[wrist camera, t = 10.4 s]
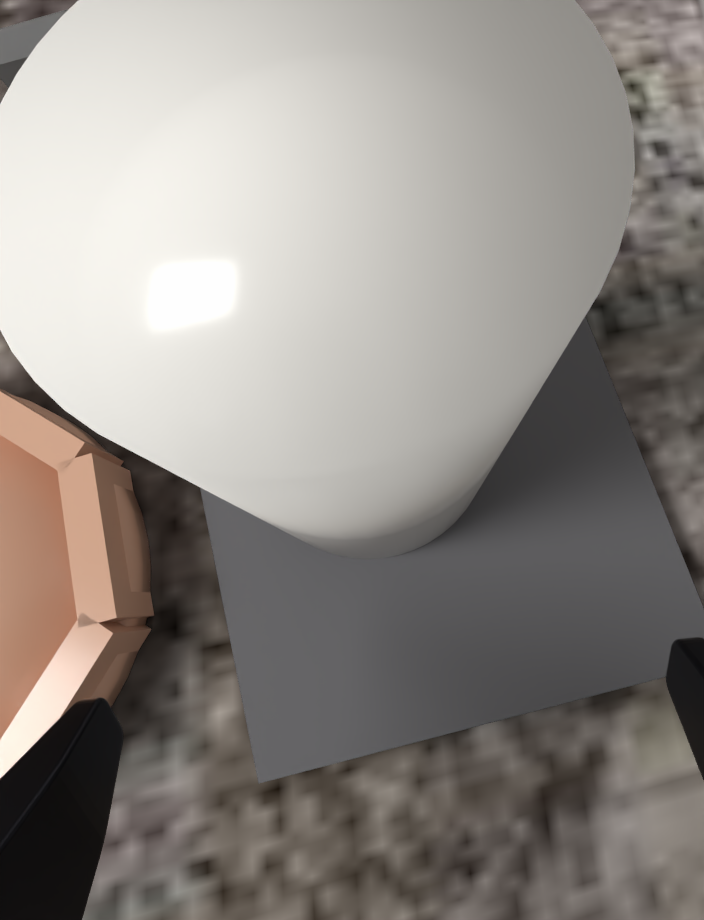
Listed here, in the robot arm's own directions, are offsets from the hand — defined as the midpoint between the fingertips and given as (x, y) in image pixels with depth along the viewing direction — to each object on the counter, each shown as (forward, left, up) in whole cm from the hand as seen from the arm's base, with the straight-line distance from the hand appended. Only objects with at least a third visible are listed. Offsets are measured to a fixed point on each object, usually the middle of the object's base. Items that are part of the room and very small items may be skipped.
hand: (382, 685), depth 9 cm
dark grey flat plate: (+6, -2, -7) cm, 9 cm away
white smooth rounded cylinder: (+6, -1, -6) cm, 9 cm away
